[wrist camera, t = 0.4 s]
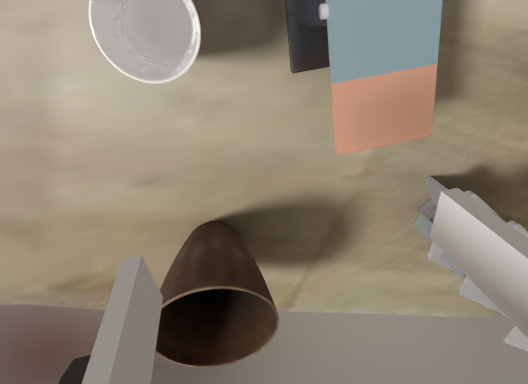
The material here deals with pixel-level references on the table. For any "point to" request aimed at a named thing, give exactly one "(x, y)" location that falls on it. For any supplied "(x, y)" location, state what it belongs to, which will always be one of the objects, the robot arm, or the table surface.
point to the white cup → (147, 36)
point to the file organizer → (442, 259)
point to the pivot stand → (306, 35)
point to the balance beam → (382, 70)
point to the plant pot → (214, 302)
